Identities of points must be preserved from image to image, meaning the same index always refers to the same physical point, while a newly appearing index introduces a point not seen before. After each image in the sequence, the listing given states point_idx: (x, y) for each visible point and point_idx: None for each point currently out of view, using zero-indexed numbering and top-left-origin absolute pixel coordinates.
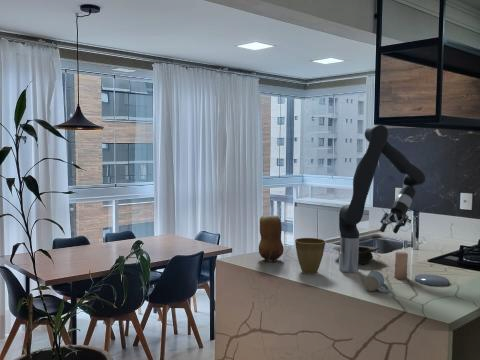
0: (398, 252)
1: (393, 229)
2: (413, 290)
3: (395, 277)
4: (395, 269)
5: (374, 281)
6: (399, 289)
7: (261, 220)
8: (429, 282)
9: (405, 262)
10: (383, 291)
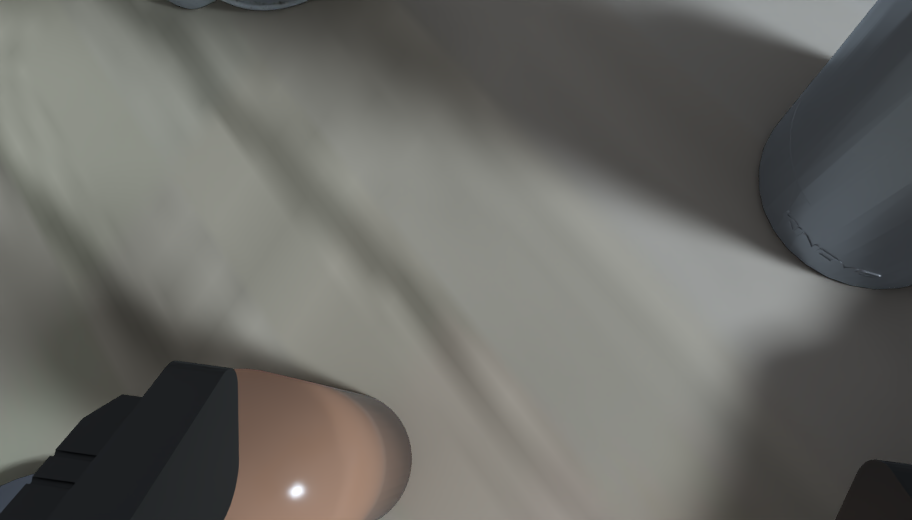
0: (309, 490)
1: (204, 398)
2: (50, 211)
3: (368, 396)
4: (354, 394)
5: None
6: (143, 128)
7: None
8: (5, 498)
9: None
10: None
